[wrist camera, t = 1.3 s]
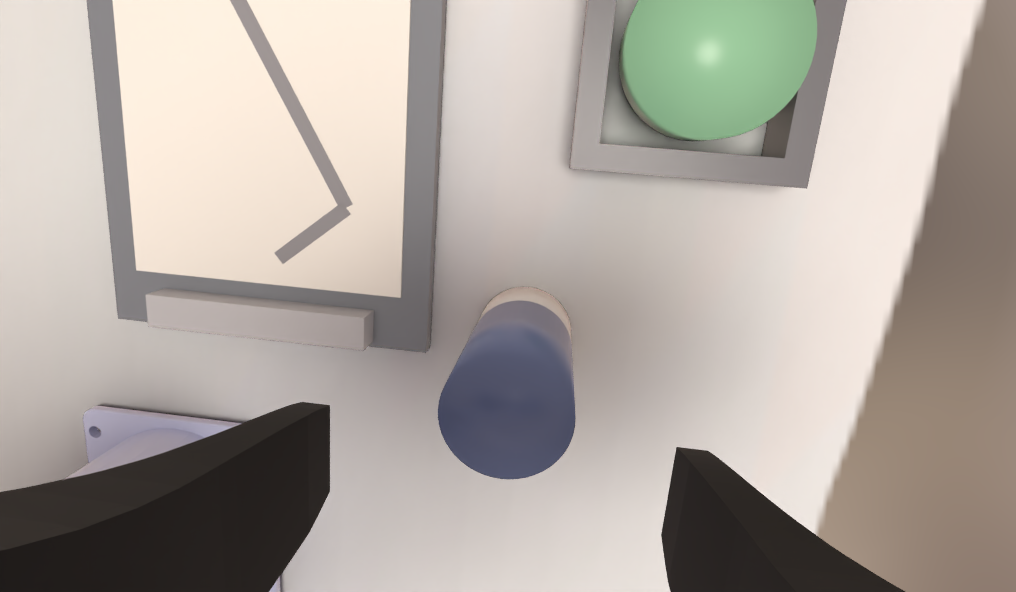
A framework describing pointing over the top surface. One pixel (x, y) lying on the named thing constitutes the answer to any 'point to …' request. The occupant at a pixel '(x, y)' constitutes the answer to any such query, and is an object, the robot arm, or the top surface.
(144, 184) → the clipboard
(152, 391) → the top surface
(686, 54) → the button
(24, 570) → the robot arm
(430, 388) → the top surface
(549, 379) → the marker
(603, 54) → the button housing
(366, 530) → the top surface
